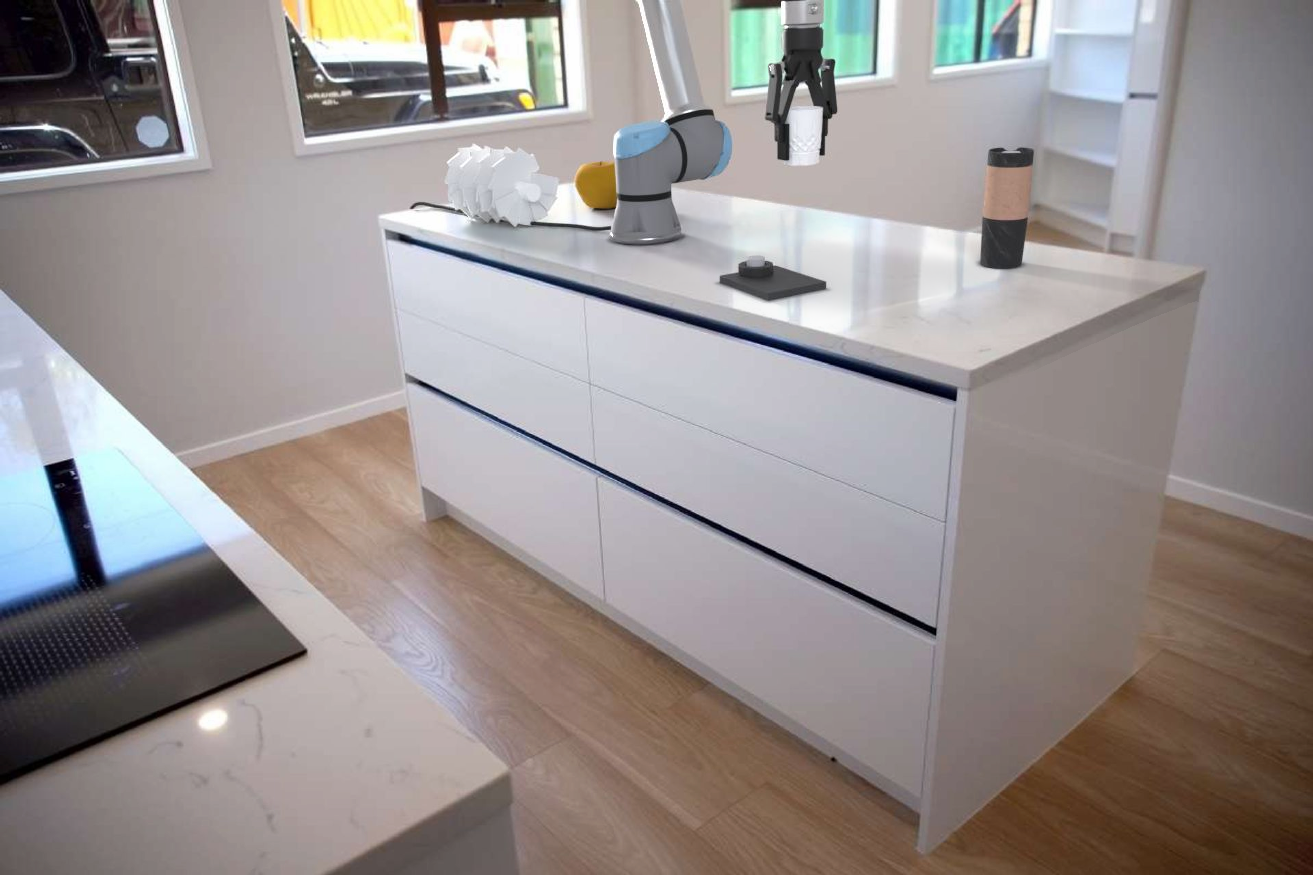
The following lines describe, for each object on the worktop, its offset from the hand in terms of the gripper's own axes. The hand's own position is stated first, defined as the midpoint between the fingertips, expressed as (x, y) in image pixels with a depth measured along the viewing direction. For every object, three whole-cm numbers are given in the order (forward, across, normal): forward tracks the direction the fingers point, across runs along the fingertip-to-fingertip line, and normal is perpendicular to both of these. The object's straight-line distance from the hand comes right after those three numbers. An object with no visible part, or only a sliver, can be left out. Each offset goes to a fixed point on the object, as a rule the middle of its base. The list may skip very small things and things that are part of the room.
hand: (801, 157), depth 188 cm
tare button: (+16, -19, -12) cm, 27 cm away
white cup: (+1, 0, 0) cm, 1 cm away
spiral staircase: (+18, -34, +72) cm, 81 cm away
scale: (+18, -19, -17) cm, 32 cm away
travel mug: (+18, +22, -31) cm, 42 cm away
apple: (+18, -8, +71) cm, 73 cm away
